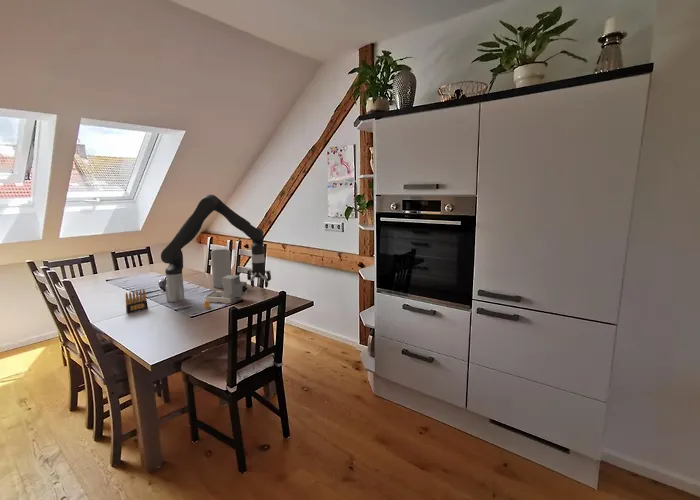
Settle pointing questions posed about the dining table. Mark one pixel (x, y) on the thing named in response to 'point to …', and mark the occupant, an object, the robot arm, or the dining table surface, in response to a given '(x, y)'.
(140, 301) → the ammunition clip
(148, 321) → the dining table surface
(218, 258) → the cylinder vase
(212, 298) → the panel slot
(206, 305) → the orange wire nut
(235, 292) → the circuit breaker
